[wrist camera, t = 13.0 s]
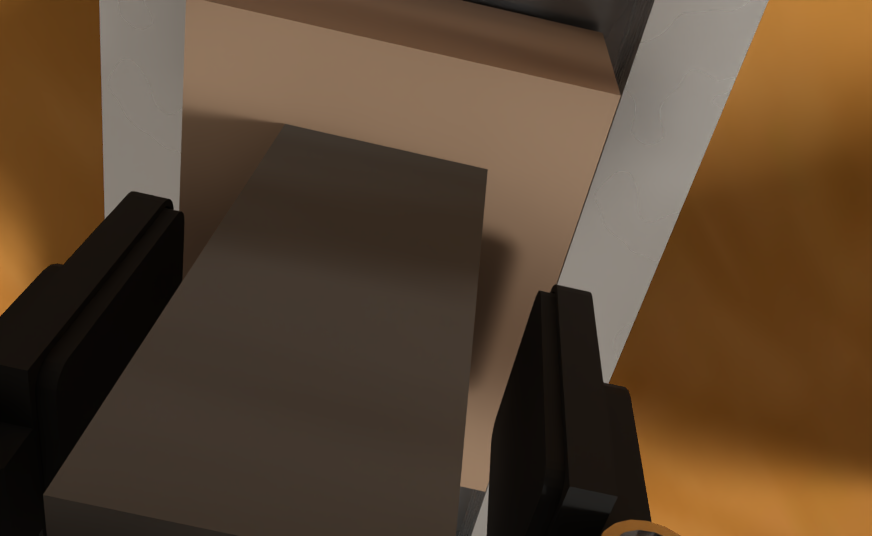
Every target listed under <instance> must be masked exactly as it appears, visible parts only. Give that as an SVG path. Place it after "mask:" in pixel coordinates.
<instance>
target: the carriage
mask: <svg viewBox="0 0 872 536" xmlns="http://www.w3.org/2000/svg"><path fill="white" fill-rule="evenodd" d="M620 96H621V95H620V91H619V88H618V85H617V81H616V78H615V74H614V71H613V67H612V64H611V60H610V57H609V53H608V50H607V46H606V43H605V39H604V36H603V33H601V32H597V31H592V30H588V29H584V28H579V27H575V26H571V25H566V24H562V23H558V22H553V21H549V20H545V19H540V18H536V17H532V16H527V15H523V14H519V13H514V12H510V11H506V10H501V9H497V8H493V7H488V6H484V5H480V4H475V3H471V2H467V1H462V0H186V14H185V44H184V75H183V106H182V137H181V167H180V198H179V211H182V212H183V213H184V219H185V225H184V252H183V279H182V283H181V284H180V286H179V287H178V289H177V290H176V292H175V293H174V295H173V296H172V298H171V299H170V301H169V303H168V304H167V306H166V307H165V309H164V310H163V312H162V313H161V315H160V316H159V318H158V319H157V321H156V322H155V324H154V326H153V327H152V329H151V330H150V332H149V333H148V335H147V336H146V338H145V339H144V341H143V342H142V344H141V345H140V347H139V348H138V350H137V352H136V353H135V355H134V356H133V358H132V359H131V361H130V362H129V364H128V365H127V367H126V368H125V370H124V371H123V373H122V375H121V376H120V378H119V379H118V381H117V382H116V384H115V385H114V387H113V388H112V390H111V391H110V393H109V394H108V396H107V398H106V399H105V401H104V402H103V404H102V405H101V407H100V408H99V410H98V411H97V413H96V414H95V416H94V417H93V419H92V421H91V422H90V424H89V425H88V427H87V428H86V430H85V431H84V433H83V434H82V436H81V437H80V439H79V440H78V442H77V444H76V445H75V447H74V448H73V450H72V451H71V453H70V454H69V456H68V457H67V459H66V460H65V462H64V463H63V465H62V467H61V468H60V470H59V471H58V473H57V474H56V476H55V477H54V479H53V480H52V482H51V483H50V485H49V486H48V488H47V489H46V491H45V493H44V494H43V500H44V511H45V522H46V533H47V536H456V529H457V518H458V506H459V495H460V486H461V487H466V488H470V489H475V490H480V491H486V488H487V486H488V483H489V473H490V452H491V438H492V432H493V427H494V422H495V419H496V416H497V413H498V410H499V407H500V404H501V401H502V398H503V395H504V391H505V388H506V385H507V382H508V379H509V376H510V373H511V370H512V367H513V364H514V361H515V358H516V355H517V352H518V349H519V346H520V343H521V340H522V337H523V334H524V331H525V327H526V324H527V321H528V318H529V315H530V312H531V309H532V306H533V303H534V300H535V297H536V295H537V293H538V291H539V290H540V291H544V292H549V293H550V291H551V289H552V287H553V285H555V284H557V281H558V278H559V275H560V272H561V269H562V266H563V263H564V260H565V257H566V254H567V251H568V249H569V246H570V243H571V240H572V237H573V234H574V231H575V228H576V225H577V222H578V219H579V216H580V213H581V210H582V208H583V205H584V202H585V199H586V196H587V193H588V190H589V187H590V184H591V181H592V178H593V175H594V172H595V170H596V167H597V164H598V161H599V158H600V155H601V152H602V149H603V146H604V143H605V140H606V137H607V134H608V131H609V129H610V126H611V123H612V120H613V117H614V114H615V111H616V108H617V105H618V102H619V99H620Z"/></svg>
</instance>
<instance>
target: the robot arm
mask: <svg viewBox="0 0 872 536" xmlns="http://www.w3.org/2000/svg"><path fill="white" fill-rule="evenodd" d="M184 225H185V219H184V213H183V212H182V211H177V210H174V206H173V202H172V201H171V199H168V198H163V197H159V196H154V195H149V194H145V193H140V192H136V191H131V192H130V193H128V194H127V195H126V196H125V198H124V199H123V200H122V201H121V202H120V203H119V204H118V205H117V206H116V207H115V209H114V210H113V211H112V212H111V213H110V214H109V215H108V216H107V217H106V218H105V220H104V221H103V222H102V223H101V224H100V225H99V226H98V227H97V228H96V229H95V231H94V232H93V233H92V234H91V235H90V236H89V237H88V238H87V239H86V240H85V242H84V243H83V244H82V245H81V246H80V247H79V248H78V249H77V250H76V251H75V253H74V254H73V255H72V256H71V257H70V258H69V259H68V260H67V261H66V262H65V264H64V265H61V264H52V265H50V266H48V267H47V268H46V269H45V270H43V271H42V272H41V274H40V275H39V276H38V277H37V278H36V279H35V280H34V281H33V282H32V283H31V284H30V285H29V286H28V287H27V288H26V290H25V291H24V292H23V293H22V294H21V295H20V296H19V297H18V298H17V299H16V300H15V301H14V302H13V303H12V304H11V306H10V307H9V308H8V309H7V310H6V311H5V312H4V313H3V314H2V315H1V316H0V536H47V533H46V522H45V511H44V500H43V494H44V493H45V491H46V489H47V488H48V486H49V485H50V483H51V482H52V480H53V479H54V477H55V476H56V474H57V473H58V471H59V470H60V468H61V467H62V465H63V463H64V462H65V460H66V459H67V457H68V456H69V454H70V453H71V451H72V450H73V448H74V447H75V445H76V444H77V442H78V440H79V439H80V437H81V436H82V434H83V433H84V431H85V430H86V428H87V427H88V425H89V424H90V422H91V421H92V419H93V417H94V416H95V414H96V413H97V411H98V410H99V408H100V407H101V405H102V404H103V402H104V401H105V399H106V398H107V396H108V394H109V393H110V391H111V390H112V388H113V387H114V385H115V384H116V382H117V381H118V379H119V378H120V376H121V375H122V373H123V371H124V370H125V368H126V367H127V365H128V364H129V362H130V361H131V359H132V358H133V356H134V355H135V353H136V352H137V350H138V348H139V347H140V345H141V344H142V342H143V341H144V339H145V338H146V336H147V335H148V333H149V332H150V330H151V329H152V327H153V326H154V324H155V322H156V321H157V319H158V318H159V316H160V315H161V313H162V312H163V310H164V309H165V307H166V306H167V304H168V303H169V301H170V299H171V298H172V296H173V295H174V293H175V292H176V290H177V289H178V287H179V286H180V284H181V283H182V279H183V252H184ZM487 536H680V535H679V534H677V533H675V532H674V531H672V530H670V529H668V528H667V527H665V526H661V525H658V524H655V523H652V522H651V516H650V510H649V504H648V498H647V492H646V486H645V480H644V474H643V468H642V463H641V457H640V451H639V445H638V439H637V433H636V427H635V421H634V415H633V409H632V403H631V397H630V394H629V391H628V390H627V389H626V388H625V387H622V386H617V385H613V384H608V383H604V382H603V376H602V368H601V360H600V352H599V344H598V337H597V329H596V321H595V313H594V305H593V298H592V294H591V292H588V291H584V290H579V289H575V288H570V287H566V286H561V285H557V284H555V285H553V287H552V289H551V291H550V293H549V292H544V291H540V290H539V291H538V293H537V295H536V297H535V300H534V303H533V306H532V309H531V312H530V315H529V318H528V321H527V324H526V327H525V331H524V334H523V337H522V340H521V343H520V346H519V349H518V352H517V355H516V358H515V361H514V364H513V367H512V370H511V373H510V376H509V379H508V382H507V385H506V388H505V391H504V395H503V398H502V401H501V404H500V407H499V410H498V413H497V416H496V419H495V422H494V427H493V432H492V438H491V452H490V473H489V494H488V515H487Z"/></svg>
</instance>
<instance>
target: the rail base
mask: <svg viewBox="0 0 872 536" xmlns="http://www.w3.org/2000/svg"><path fill="white" fill-rule="evenodd" d="M462 1H467V2H471V3H475V4H480V5H484V6H488V7H493V8H497V9H501V10H506V11H510V12H514V13H519V14H523V15H527V16H532V17H536V18H540V19H545V20H549V21H553V22H558V23H562V24H566V25H571V26H575V27H579V28H584V29H588V30H592V31H597V32H601V33H603V36H604V39H605V43H606V46H607V50H608V53H609V57H610V60H611V64H612V67H613V71H614V74H615V78H616V81H617V85H618V88H619V91H620V95H621V96H620V99H619V102H618V105H617V108H616V111H615V114H614V117H613V120H612V123H611V126H610V129H609V131H608V134H607V137H606V140H605V143H604V146H603V149H602V152H601V155H600V158H599V161H598V164H597V167H596V170H595V172H594V175H593V178H592V181H591V184H590V187H589V190H588V193H587V196H586V199H585V202H584V205H583V208H582V210H581V213H580V216H579V219H578V222H577V225H576V228H575V231H574V234H573V237H572V240H571V243H570V246H569V249H568V251H567V254H566V257H565V260H564V263H563V266H562V269H561V272H560V275H559V278H558V281H557V285H561V286H566V287H570V288H575V289H579V290H584V291H588V292H591V294H592V298H593V305H594V313H595V321H596V329H597V337H598V344H599V352H600V360H601V368H602V376H603V382H604V383H609V381H610V378H611V376H612V374H613V371H614V369H615V367H616V364H617V362H618V359H619V357H620V355H621V352H622V350H623V347H624V345H625V343H626V340H627V338H628V335H629V333H630V331H631V328H632V326H633V323H634V321H635V319H636V316H637V314H638V311H639V309H640V307H641V304H642V302H643V300H644V297H645V295H646V292H647V290H648V288H649V285H650V283H651V280H652V278H653V276H654V273H655V271H656V268H657V266H658V264H659V261H660V259H661V256H662V254H663V252H664V249H665V247H666V245H667V242H668V240H669V237H670V235H671V233H672V230H673V228H674V225H675V223H676V221H677V218H678V216H679V213H680V211H681V209H682V206H683V204H684V201H685V199H686V197H687V194H688V192H689V189H690V187H691V185H692V182H693V180H694V178H695V175H696V173H697V170H698V168H699V166H700V163H701V161H702V158H703V156H704V154H705V151H706V149H707V146H708V144H709V142H710V139H711V137H712V134H713V132H714V130H715V127H716V125H717V123H718V120H719V118H720V115H721V113H722V111H723V108H724V106H725V103H726V101H727V99H728V96H729V94H730V91H731V89H732V87H733V84H734V82H735V79H736V77H737V75H738V72H739V70H740V67H741V65H742V63H743V60H744V58H745V56H746V53H747V51H748V48H749V46H750V44H751V41H752V39H753V36H754V34H755V32H756V29H757V27H758V24H759V22H760V20H761V17H762V15H763V12H764V10H765V8H766V5H767V3H768V1H769V0H462ZM99 7H100V48H101V88H102V129H103V169H104V209H105V218H106V217H107V216H108V215H109V214H110V213H111V212H112V211H113V210H114V209H115V207H116V206H117V205H118V204H119V203H120V202H121V201H122V200H123V199H124V198H125V196H126V195H127V194H128V193H130V192H131V191H136V192H140V193H145V194H149V195H154V196H159V197H163V198H168V199H171V201H172V202H173V206H174V210H177V211H179V198H180V167H181V137H182V106H183V75H184V44H185V14H186V0H99ZM488 494H489V483H488V486H487V488H486V491H480V490H475V489H470V488H466V487H461V486H460V495H459V506H458V518H457V529H456V536H487V515H488Z"/></svg>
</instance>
